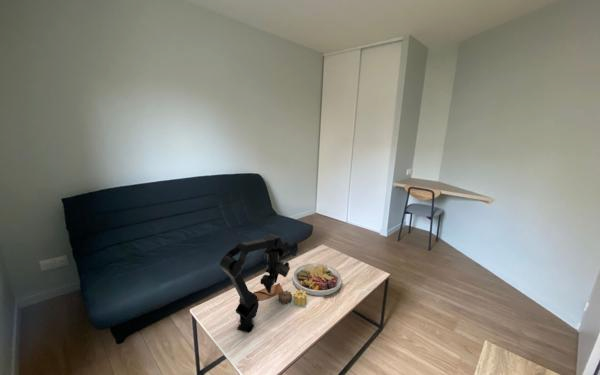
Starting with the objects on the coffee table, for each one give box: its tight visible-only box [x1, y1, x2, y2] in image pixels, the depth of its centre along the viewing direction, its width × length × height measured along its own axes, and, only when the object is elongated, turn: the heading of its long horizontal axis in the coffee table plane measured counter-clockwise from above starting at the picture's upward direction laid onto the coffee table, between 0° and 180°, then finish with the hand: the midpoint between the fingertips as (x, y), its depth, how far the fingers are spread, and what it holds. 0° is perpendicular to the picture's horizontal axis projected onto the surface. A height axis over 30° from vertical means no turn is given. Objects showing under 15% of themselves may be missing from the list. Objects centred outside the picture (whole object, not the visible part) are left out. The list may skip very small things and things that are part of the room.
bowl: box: [292, 262, 343, 297], centre depth 147 cm, size 30×30×8 cm
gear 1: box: [277, 290, 293, 304], centre depth 129 cm, size 7×7×4 cm
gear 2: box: [293, 289, 308, 308], centre depth 128 cm, size 7×7×5 cm
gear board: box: [276, 294, 309, 309], centre depth 129 cm, size 8×16×6 cm, turn 79°
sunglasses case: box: [252, 282, 284, 302], centre depth 135 cm, size 18×7×7 cm, turn 126°
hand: (272, 287), depth 123 cm, fingers open, 9 cm apart
